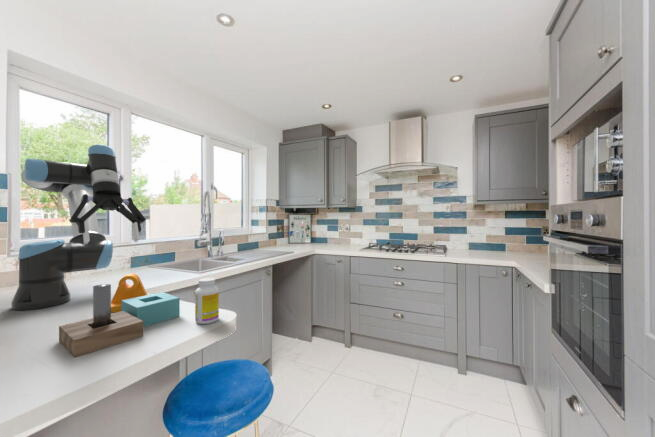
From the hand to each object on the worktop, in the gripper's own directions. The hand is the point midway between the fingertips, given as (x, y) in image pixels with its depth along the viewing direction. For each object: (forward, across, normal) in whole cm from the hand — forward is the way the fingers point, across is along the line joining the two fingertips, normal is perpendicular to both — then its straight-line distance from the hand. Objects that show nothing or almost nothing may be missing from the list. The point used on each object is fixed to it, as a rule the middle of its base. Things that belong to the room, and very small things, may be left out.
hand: (113, 241), depth 90 cm
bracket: (+22, +5, +11) cm, 25 cm away
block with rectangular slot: (+28, +6, -2) cm, 28 cm away
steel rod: (+30, -8, -8) cm, 32 cm away
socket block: (+30, -8, -8) cm, 32 cm away
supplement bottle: (+35, +15, -18) cm, 42 cm away
